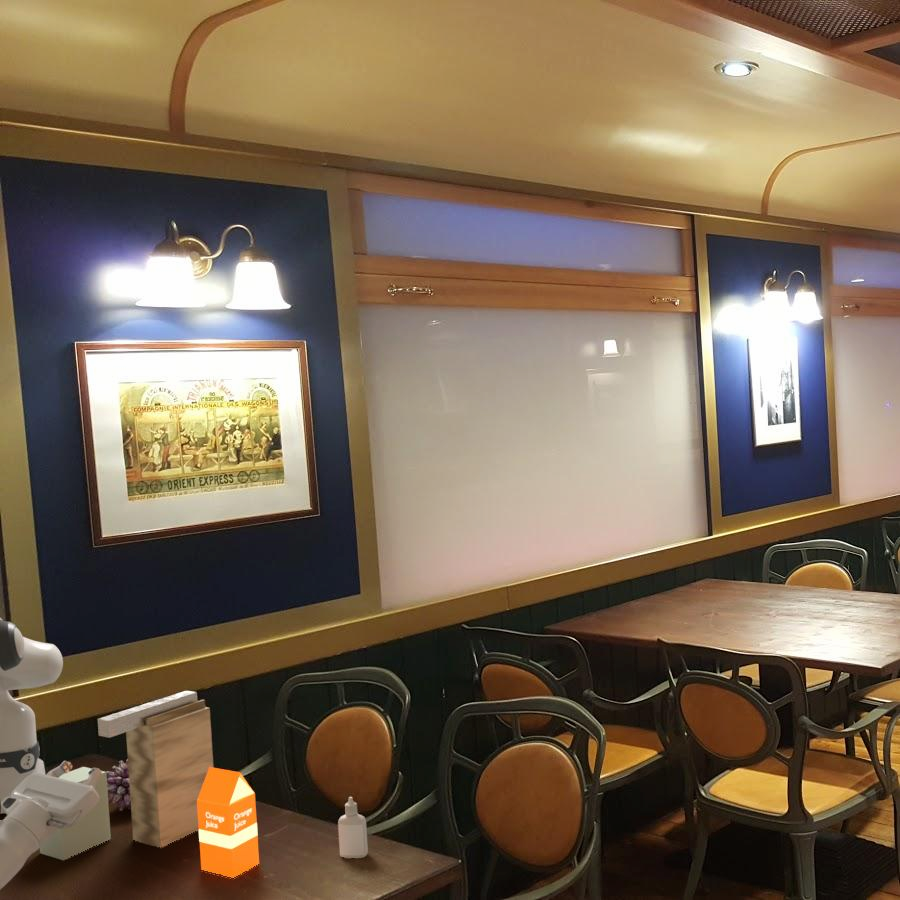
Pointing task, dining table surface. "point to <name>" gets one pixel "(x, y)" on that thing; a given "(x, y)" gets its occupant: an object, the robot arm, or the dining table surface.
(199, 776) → the oak stand
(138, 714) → the steel bar
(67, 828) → the sage block
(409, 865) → the dining table surface
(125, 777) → the flower
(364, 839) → the eye dropper bottle
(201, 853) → the orange juice
